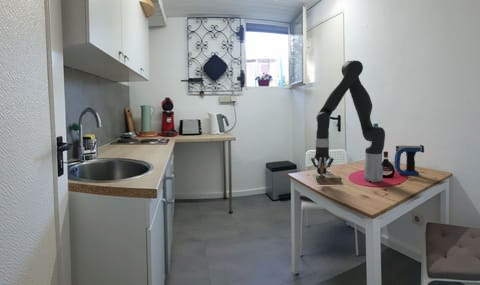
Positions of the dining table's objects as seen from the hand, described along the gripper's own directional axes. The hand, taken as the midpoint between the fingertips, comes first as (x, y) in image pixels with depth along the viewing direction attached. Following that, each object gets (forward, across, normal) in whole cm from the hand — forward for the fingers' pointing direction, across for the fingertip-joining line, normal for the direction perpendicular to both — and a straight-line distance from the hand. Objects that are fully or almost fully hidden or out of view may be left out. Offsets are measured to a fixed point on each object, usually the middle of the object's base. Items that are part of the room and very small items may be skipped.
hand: (321, 173), depth 161 cm
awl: (+2, 0, 0) cm, 2 cm away
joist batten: (+6, +4, 0) cm, 7 cm away
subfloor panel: (+6, +4, +8) cm, 11 cm away
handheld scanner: (+5, +60, +19) cm, 63 cm away
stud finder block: (+5, +6, +8) cm, 11 cm away
